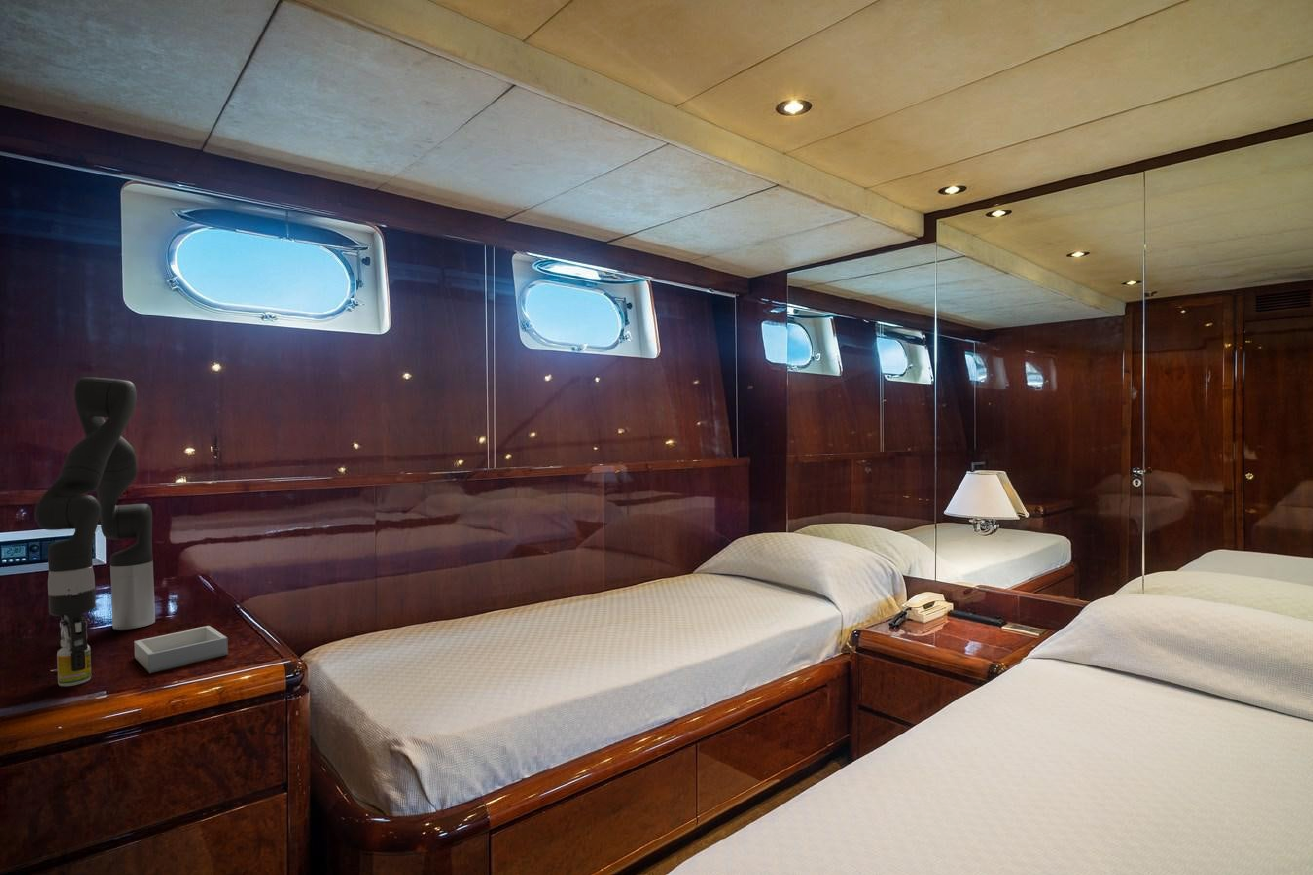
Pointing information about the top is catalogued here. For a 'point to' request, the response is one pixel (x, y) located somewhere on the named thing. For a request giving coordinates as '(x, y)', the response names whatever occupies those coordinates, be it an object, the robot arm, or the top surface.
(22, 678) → the top surface
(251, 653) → the top surface
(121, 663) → the top surface
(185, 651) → the box
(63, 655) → the supplement bottle
